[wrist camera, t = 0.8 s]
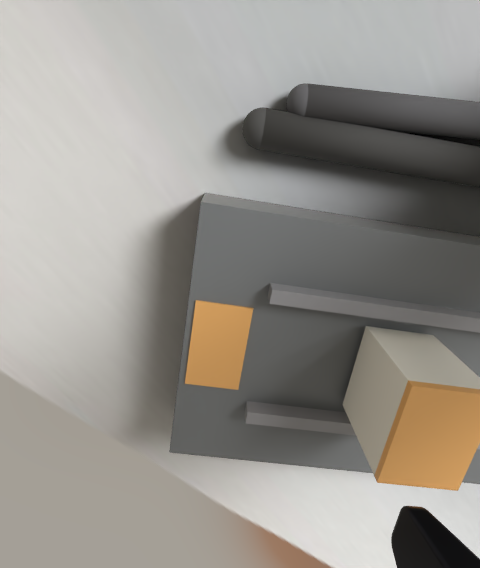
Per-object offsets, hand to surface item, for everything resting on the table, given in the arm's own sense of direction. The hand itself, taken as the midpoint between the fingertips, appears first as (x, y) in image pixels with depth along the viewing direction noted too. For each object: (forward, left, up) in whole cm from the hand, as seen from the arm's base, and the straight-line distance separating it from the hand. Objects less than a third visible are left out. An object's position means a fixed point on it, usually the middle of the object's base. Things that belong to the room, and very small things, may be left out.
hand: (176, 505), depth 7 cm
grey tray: (-8, +2, -12) cm, 15 cm away
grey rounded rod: (-8, -7, -12) cm, 17 cm away
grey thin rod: (-9, -9, -12) cm, 18 cm away
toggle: (-8, +2, -9) cm, 13 cm away
